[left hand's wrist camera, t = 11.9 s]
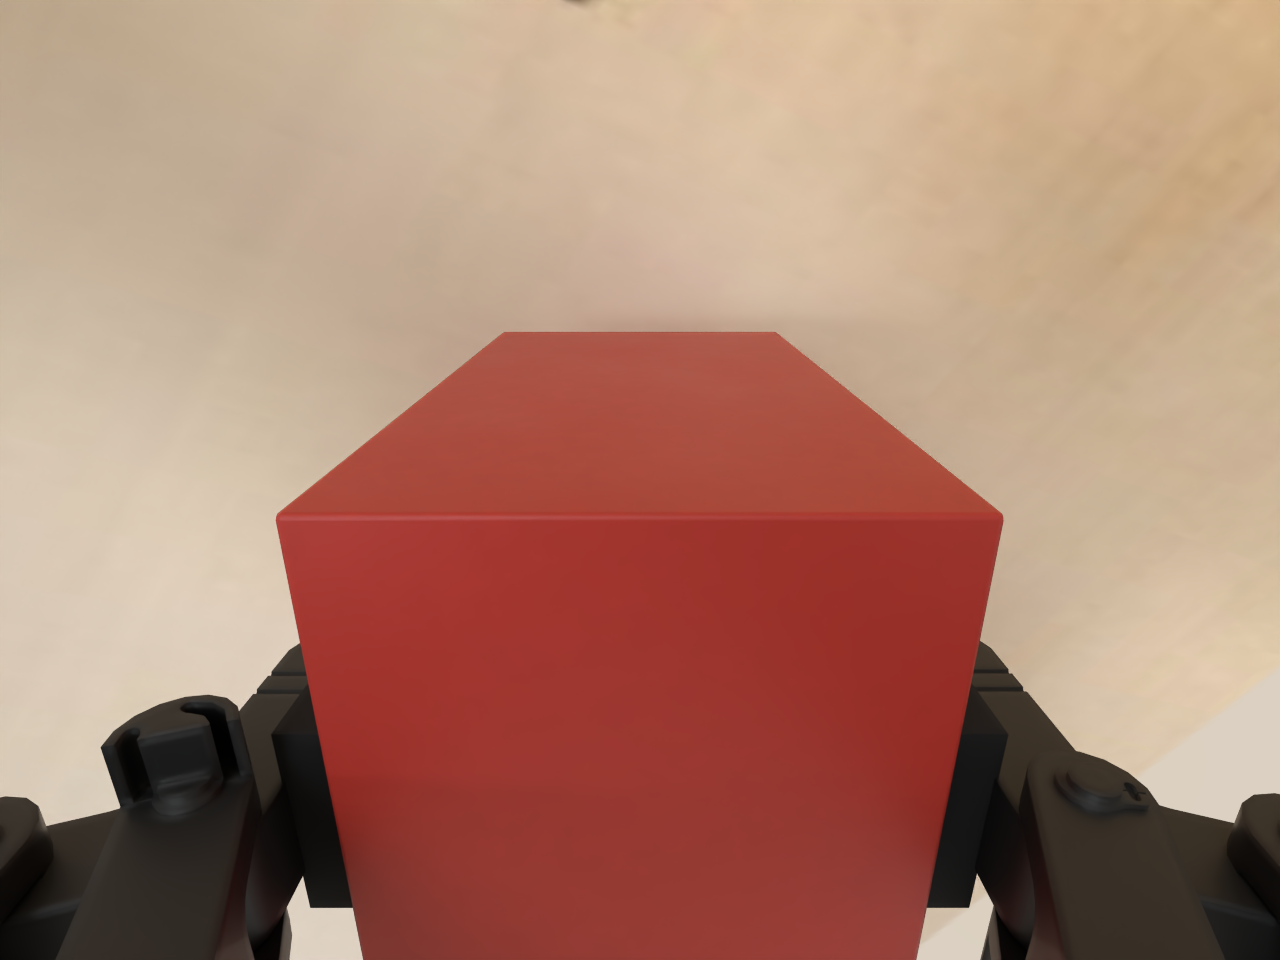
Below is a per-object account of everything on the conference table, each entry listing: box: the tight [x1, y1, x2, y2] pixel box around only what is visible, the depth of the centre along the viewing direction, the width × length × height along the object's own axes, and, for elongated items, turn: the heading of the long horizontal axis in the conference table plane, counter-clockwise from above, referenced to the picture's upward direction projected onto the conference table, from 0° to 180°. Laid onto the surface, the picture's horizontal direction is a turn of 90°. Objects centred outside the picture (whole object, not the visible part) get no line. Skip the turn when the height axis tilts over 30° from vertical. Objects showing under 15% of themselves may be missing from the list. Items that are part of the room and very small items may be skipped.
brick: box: [276, 332, 1003, 960], centre depth 13 cm, size 7×9×12 cm
